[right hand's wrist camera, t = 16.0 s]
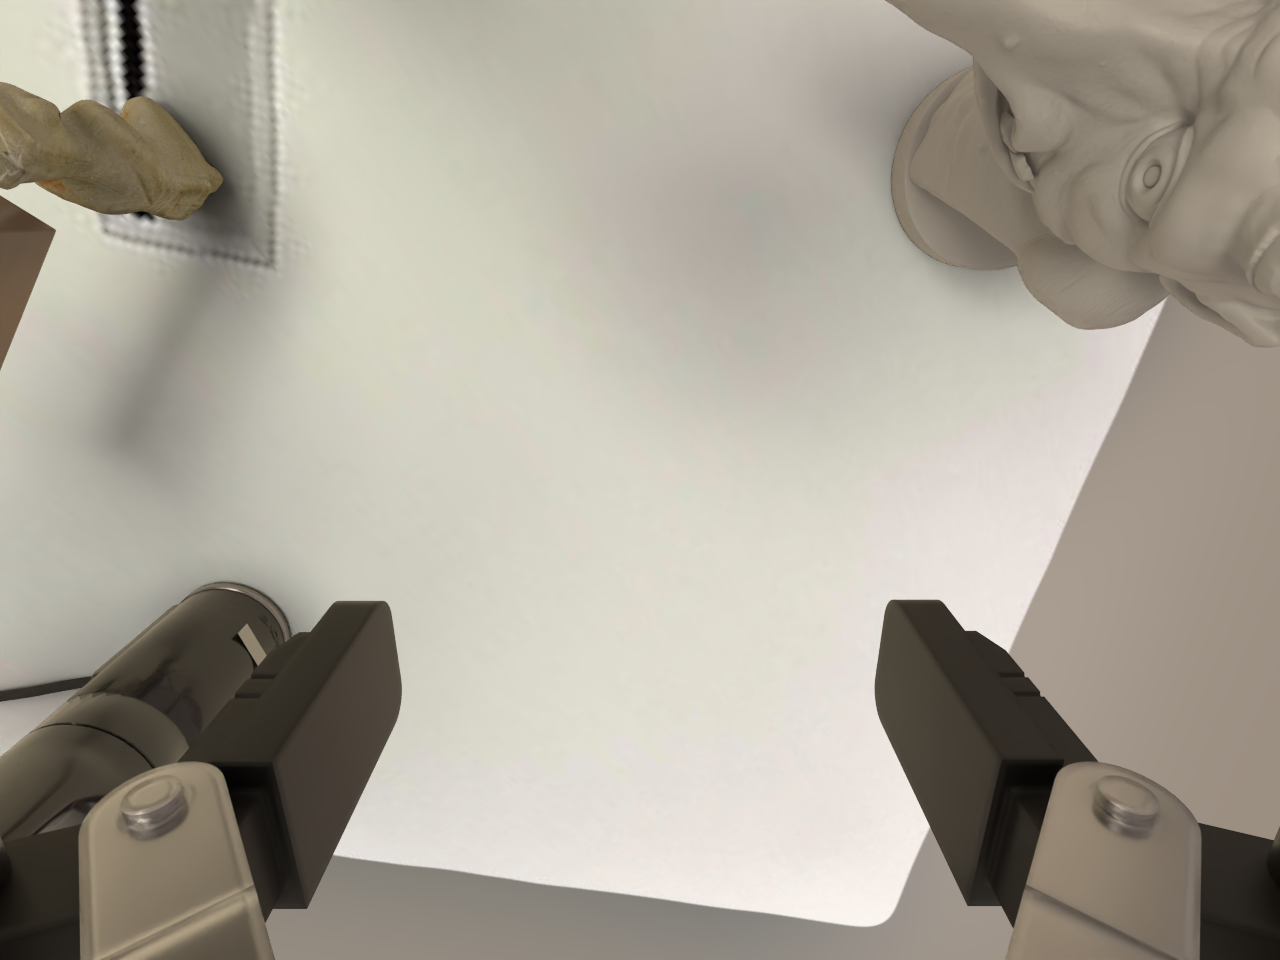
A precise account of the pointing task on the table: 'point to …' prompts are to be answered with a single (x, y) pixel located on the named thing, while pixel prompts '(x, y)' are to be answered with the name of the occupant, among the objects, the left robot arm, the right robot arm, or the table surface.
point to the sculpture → (103, 155)
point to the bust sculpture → (1105, 155)
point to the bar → (18, 265)
